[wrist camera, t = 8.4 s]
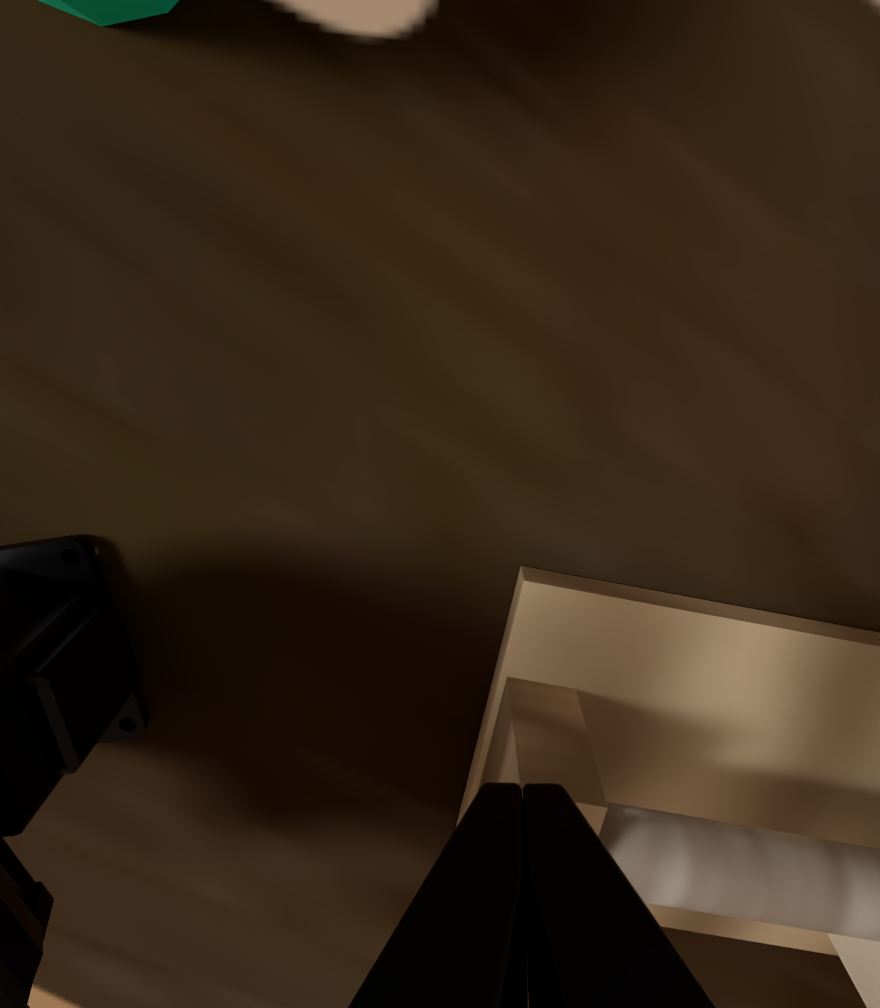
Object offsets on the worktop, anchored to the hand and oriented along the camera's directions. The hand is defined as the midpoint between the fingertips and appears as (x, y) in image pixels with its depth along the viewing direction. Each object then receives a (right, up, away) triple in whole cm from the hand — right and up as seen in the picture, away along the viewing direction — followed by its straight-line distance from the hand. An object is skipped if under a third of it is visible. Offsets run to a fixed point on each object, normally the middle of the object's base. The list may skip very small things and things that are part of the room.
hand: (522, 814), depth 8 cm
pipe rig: (+9, -5, +16) cm, 19 cm away
